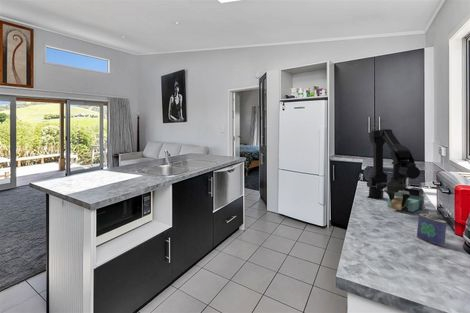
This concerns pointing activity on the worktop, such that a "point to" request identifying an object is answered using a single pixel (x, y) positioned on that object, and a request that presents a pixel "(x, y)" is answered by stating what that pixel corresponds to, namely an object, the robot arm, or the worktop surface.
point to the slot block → (408, 204)
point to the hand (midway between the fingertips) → (397, 205)
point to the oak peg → (397, 203)
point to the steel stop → (420, 198)
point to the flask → (431, 229)
